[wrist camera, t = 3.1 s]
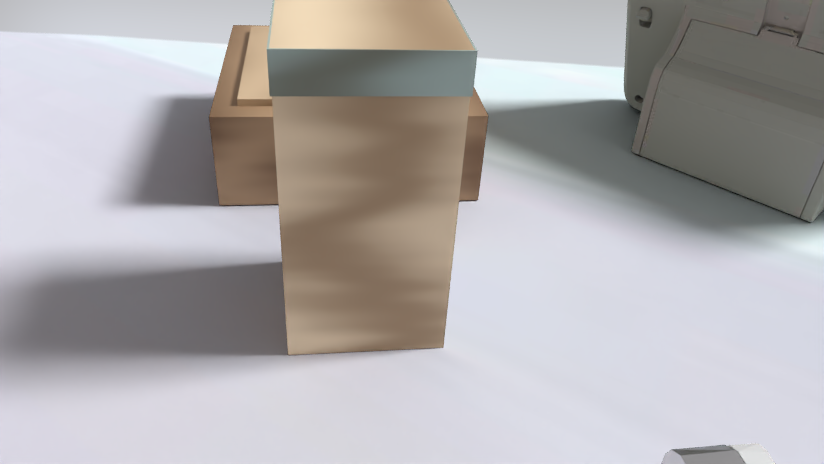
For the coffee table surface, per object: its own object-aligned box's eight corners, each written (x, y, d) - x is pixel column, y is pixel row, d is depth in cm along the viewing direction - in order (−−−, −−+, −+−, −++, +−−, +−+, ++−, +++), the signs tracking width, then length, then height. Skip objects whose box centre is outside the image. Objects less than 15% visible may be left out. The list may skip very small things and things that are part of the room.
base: (219, 205, 29) (208, 109, 27) (239, 98, 38) (232, 19, 36) (477, 199, 31) (489, 109, 28) (438, 97, 40) (444, 22, 37)
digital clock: (954, 211, 32) (1092, -28, 26) (858, 274, 28) (998, 1, 22) (666, 88, 43) (718, -102, 37) (562, 119, 38) (602, -92, 32)
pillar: (286, 356, 22) (266, 49, 17) (289, 260, 26) (274, -12, 21) (445, 348, 23) (477, 50, 17) (423, 256, 27) (444, -8, 21)
